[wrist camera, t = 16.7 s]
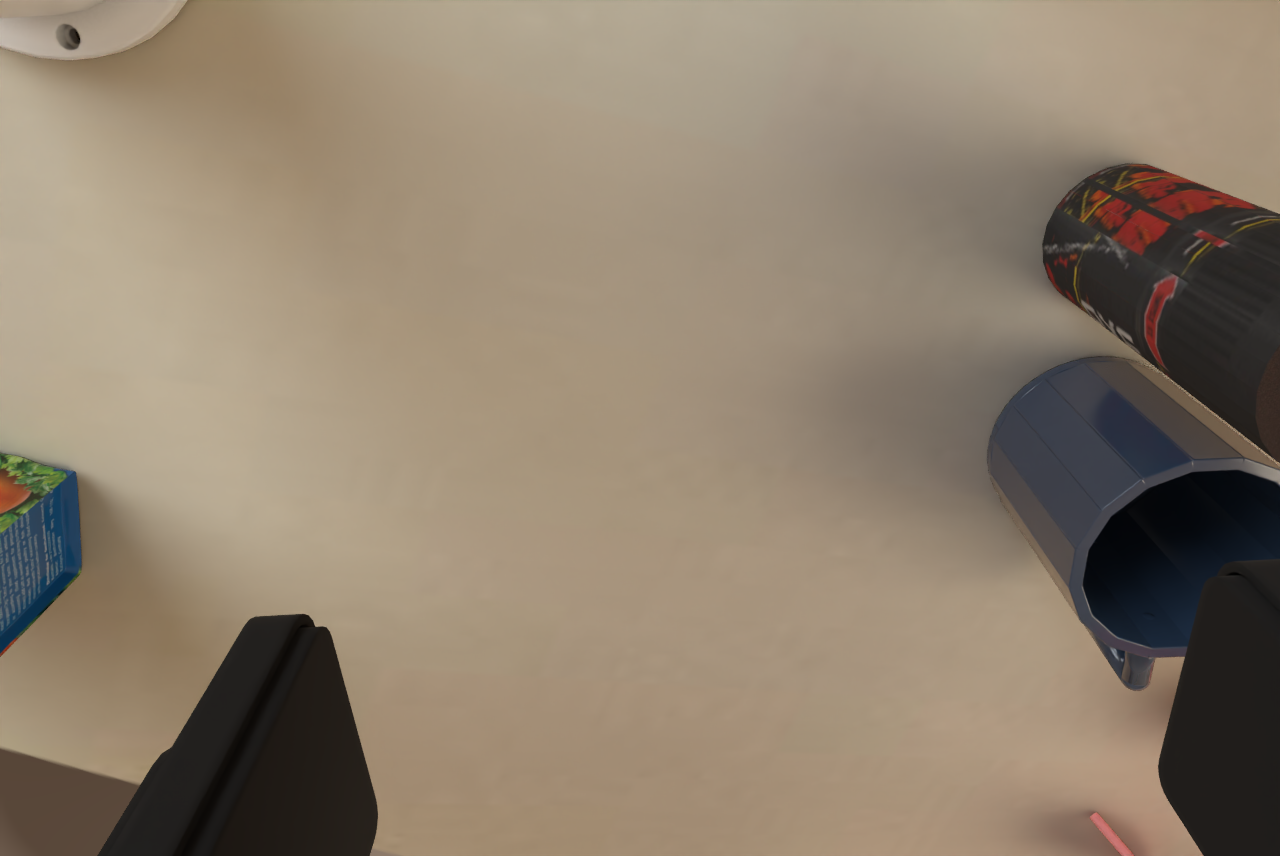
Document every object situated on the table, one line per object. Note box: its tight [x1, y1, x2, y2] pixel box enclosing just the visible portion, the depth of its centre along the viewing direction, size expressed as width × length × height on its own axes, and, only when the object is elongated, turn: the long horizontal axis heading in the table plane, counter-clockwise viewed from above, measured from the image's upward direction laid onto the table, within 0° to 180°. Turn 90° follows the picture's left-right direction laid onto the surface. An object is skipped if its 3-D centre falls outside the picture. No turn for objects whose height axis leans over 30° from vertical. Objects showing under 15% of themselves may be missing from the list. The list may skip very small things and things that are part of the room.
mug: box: [987, 357, 1280, 691], centre depth 38 cm, size 12×9×10 cm
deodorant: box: [1043, 164, 1280, 463], centre depth 31 cm, size 6×6×15 cm
